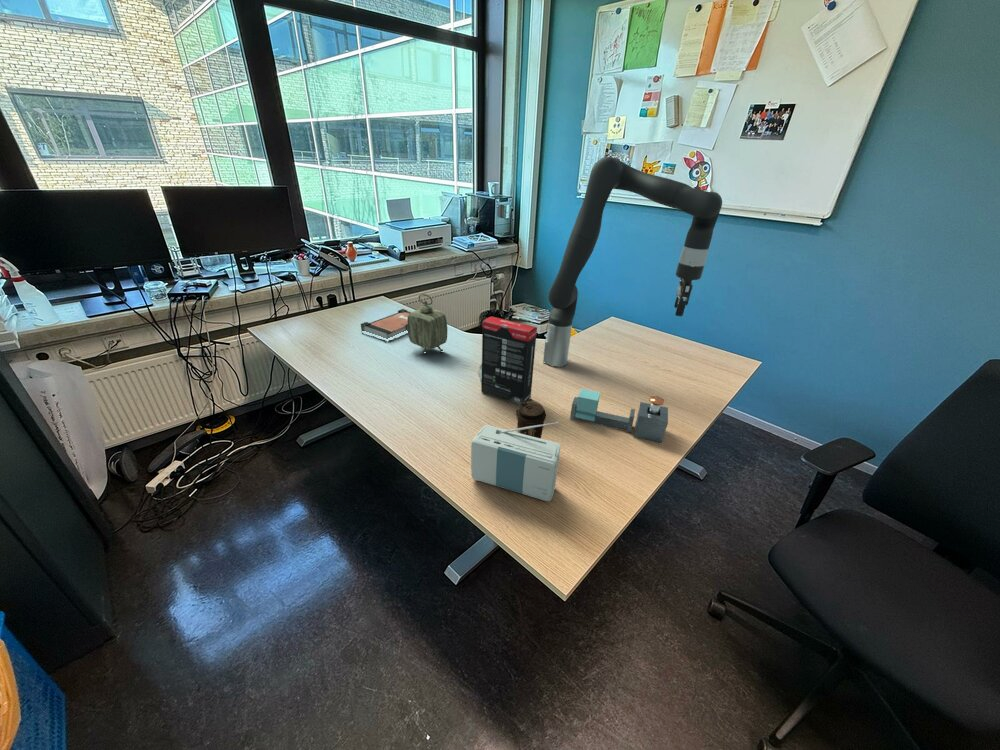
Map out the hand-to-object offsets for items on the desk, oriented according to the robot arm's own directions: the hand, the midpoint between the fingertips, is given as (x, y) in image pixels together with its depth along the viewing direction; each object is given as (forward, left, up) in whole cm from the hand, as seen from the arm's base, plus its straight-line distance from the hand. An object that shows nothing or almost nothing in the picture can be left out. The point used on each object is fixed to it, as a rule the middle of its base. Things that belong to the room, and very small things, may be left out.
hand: (677, 311), depth 131 cm
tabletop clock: (-92, -7, -30) cm, 97 cm away
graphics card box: (-50, -27, -30) cm, 64 cm away
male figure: (-62, -10, -31) cm, 70 cm away
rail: (-17, -30, -30) cm, 45 cm away
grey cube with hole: (-2, -30, -30) cm, 42 cm away
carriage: (-22, -30, -28) cm, 46 cm away
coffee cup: (-35, -50, -30) cm, 68 cm away
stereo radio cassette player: (-34, -66, -30) cm, 80 cm away
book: (-118, +9, -31) cm, 122 cm away
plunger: (-2, -30, -25) cm, 39 cm away
